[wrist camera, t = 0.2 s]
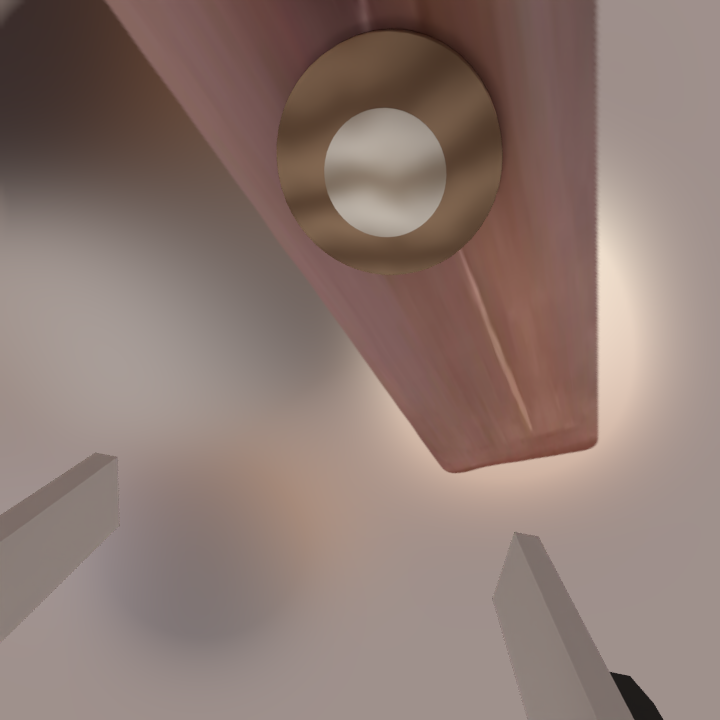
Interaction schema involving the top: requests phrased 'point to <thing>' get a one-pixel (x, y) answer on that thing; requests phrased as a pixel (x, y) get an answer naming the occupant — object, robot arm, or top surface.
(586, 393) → the top surface
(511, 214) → the top surface
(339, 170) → the disc
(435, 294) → the top surface
